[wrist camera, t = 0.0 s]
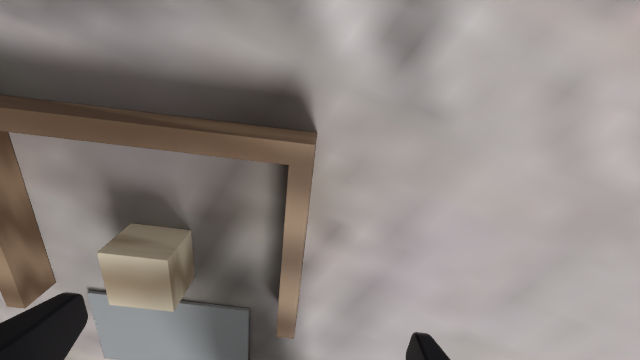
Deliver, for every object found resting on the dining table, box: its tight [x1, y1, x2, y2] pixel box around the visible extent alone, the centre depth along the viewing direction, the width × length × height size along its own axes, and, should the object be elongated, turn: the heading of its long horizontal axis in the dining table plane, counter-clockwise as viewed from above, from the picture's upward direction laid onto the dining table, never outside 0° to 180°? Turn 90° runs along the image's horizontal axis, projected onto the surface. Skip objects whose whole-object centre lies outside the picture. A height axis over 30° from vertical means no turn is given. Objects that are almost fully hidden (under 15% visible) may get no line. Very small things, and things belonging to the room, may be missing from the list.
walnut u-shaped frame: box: [0, 95, 317, 339], centre depth 23 cm, size 17×24×3 cm
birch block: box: [97, 223, 195, 312], centre depth 24 cm, size 5×5×4 cm
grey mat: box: [87, 290, 249, 360], centre depth 29 cm, size 9×15×1 cm, turn 84°
